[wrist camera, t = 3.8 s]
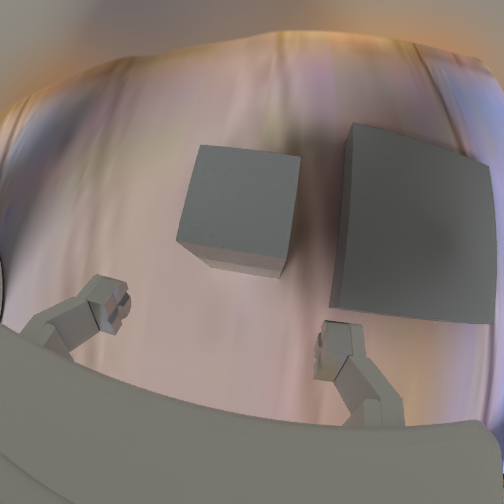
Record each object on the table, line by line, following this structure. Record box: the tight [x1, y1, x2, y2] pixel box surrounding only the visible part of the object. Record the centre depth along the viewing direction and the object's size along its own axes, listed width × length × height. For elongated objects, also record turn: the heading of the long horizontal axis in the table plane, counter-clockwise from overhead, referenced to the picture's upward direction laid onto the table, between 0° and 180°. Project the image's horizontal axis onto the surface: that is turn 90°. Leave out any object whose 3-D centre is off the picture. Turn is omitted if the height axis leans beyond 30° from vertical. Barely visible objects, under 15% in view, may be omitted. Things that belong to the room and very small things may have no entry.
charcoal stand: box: [329, 122, 497, 324], centre depth 20 cm, size 14×14×3 cm
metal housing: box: [176, 145, 301, 279], centre depth 18 cm, size 5×5×9 cm
